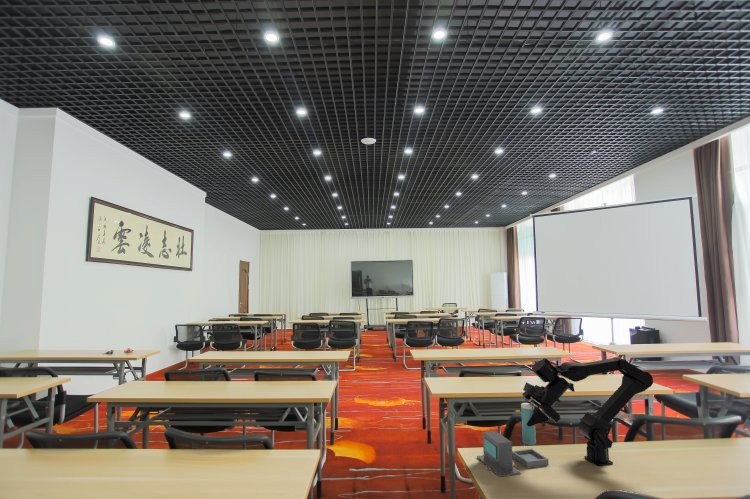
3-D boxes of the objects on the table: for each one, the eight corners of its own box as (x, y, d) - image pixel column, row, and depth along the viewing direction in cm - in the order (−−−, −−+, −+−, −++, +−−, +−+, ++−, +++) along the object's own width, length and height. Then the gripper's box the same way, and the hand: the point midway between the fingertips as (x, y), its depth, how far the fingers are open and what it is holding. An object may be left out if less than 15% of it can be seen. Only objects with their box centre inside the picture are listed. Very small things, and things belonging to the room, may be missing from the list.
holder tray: (532, 454, 137) (531, 448, 137) (548, 465, 128) (548, 459, 129) (512, 457, 134) (511, 451, 135) (527, 468, 126) (527, 462, 126)
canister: (534, 440, 134) (532, 403, 135) (537, 445, 129) (535, 407, 131) (521, 439, 135) (520, 402, 136) (523, 444, 130) (522, 406, 132)
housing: (496, 455, 136) (495, 428, 137) (520, 473, 122) (519, 443, 123) (477, 457, 134) (476, 430, 135) (499, 477, 120) (498, 446, 121)
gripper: (526, 369, 144) (499, 399, 142) (549, 382, 125) (518, 416, 124) (547, 390, 143) (520, 419, 142) (573, 405, 124) (543, 440, 123)
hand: (524, 423), depth 133 cm, fingers closed on canister, 4 cm apart
